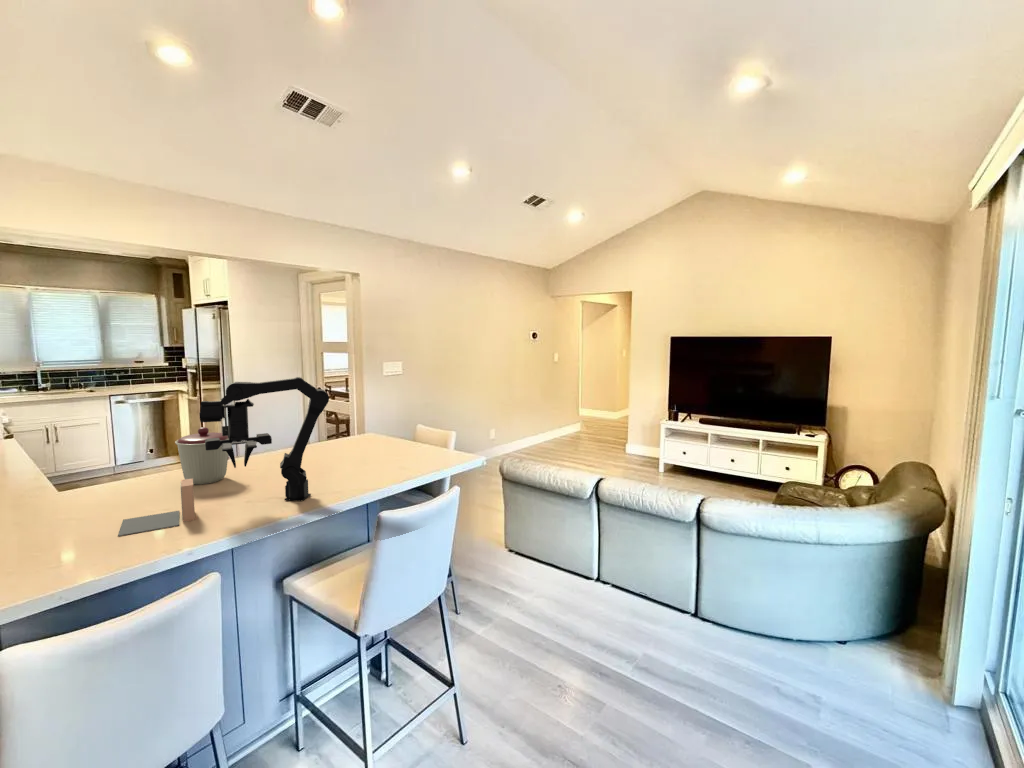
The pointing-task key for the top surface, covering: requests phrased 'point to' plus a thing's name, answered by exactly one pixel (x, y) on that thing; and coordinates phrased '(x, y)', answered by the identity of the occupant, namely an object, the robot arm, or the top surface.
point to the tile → (187, 500)
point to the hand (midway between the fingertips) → (240, 466)
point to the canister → (202, 457)
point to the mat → (149, 523)
